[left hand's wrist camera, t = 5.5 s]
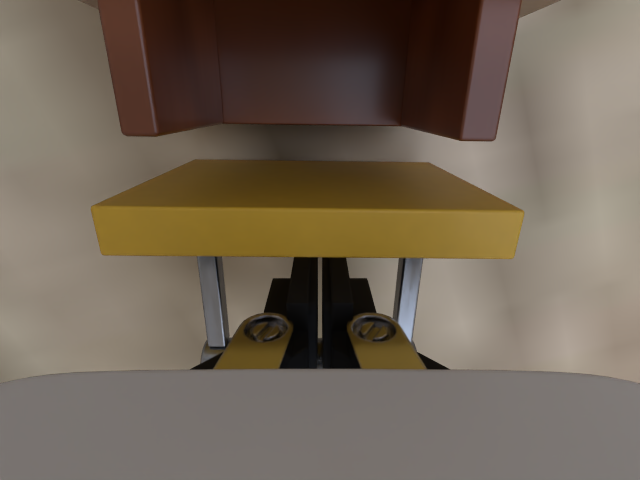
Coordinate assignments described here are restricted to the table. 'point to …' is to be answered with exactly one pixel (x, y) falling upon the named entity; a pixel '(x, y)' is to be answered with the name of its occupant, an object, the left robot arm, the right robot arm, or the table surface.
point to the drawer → (308, 109)
